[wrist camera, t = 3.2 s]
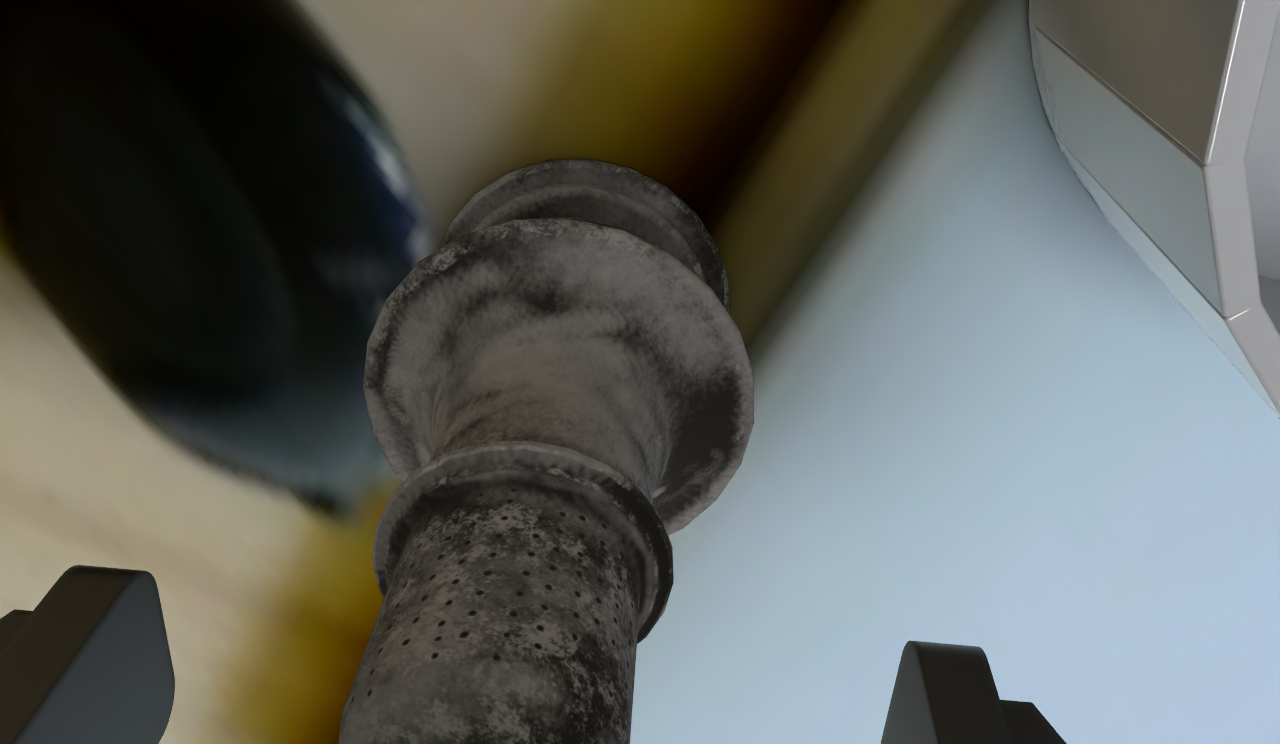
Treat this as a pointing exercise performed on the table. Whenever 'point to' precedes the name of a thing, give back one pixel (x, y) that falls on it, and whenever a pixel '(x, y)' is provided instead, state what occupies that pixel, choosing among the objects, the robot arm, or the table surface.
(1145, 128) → the silver cup
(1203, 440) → the table surface
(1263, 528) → the table surface
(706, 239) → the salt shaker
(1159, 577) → the table surface
